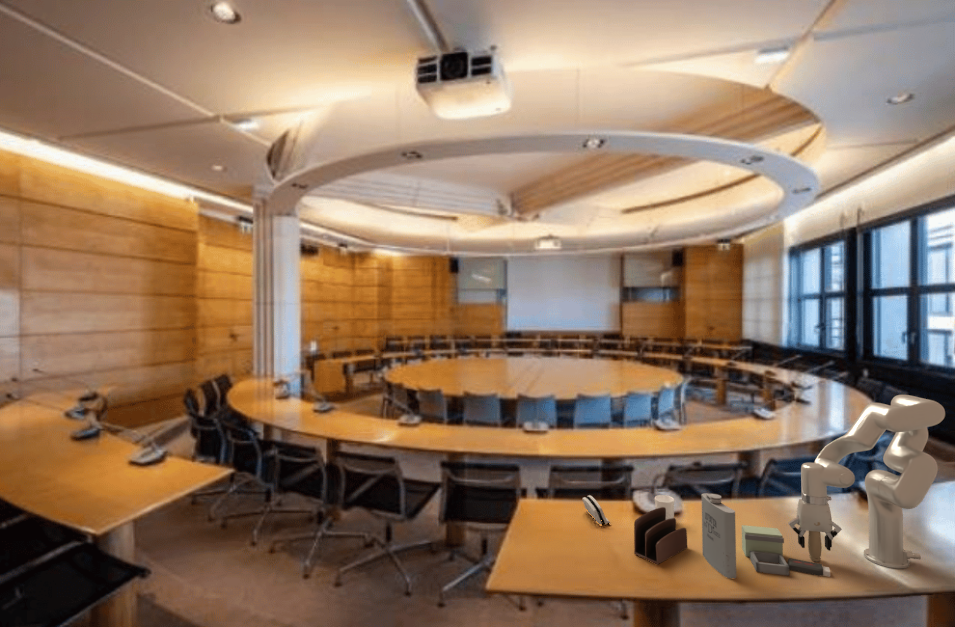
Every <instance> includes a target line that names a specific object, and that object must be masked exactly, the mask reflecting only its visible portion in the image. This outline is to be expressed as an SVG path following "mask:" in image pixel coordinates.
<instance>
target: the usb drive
mask: <svg viewBox="0 0 955 627" xmlns="http://www.w3.org/2000/svg"><path fill="white" fill-rule="evenodd" d="M787 564H788V566H789V571H793V572H798V573H803V574H808V575H812V576H818V577H829V578H830V577H831V569H830V567H829V566H823V564H822V563H818V562H814V561H807V560H804V559H803V560H801V559H796V558H792V557H791V558H790V557H789V558H787Z"/></svg>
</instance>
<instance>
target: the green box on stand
mask: <svg viewBox="0 0 955 627" xmlns="http://www.w3.org/2000/svg"><path fill="white" fill-rule="evenodd" d="M783 536H784V535H783V534H782V533H781V531H780V530H779V529H778V528H777V527H766V526H755V525H745V524H742V525H741V549H742V552H743V554H744V556H745V557H747V558H749V560H750V561H751V565H752V566H753V567H754V570H755V572H757V573H762V572H763V573H764V574H772V575H781V576H790V570H789V566H788V562H786V559H785V558H784V548H783V546H784V545H783V544H784V543H785V538H784V537H783Z"/></svg>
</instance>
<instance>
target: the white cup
mask: <svg viewBox="0 0 955 627" xmlns="http://www.w3.org/2000/svg"><path fill="white" fill-rule="evenodd" d="M661 507H665V508H666V520H667V519H671V518H675V498H673V497H672V496H670V495H666V494H663V495H662V494H658V495H655V497H654V508H655V509H657V508H661Z"/></svg>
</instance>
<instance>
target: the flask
mask: <svg viewBox="0 0 955 627" xmlns="http://www.w3.org/2000/svg"><path fill="white" fill-rule="evenodd" d="M700 496H701V529H702V530H701V534H702V535H701V536H702V537H701V538H702V540H701V541H702V542H701V543H702V557H704V559H705V560H706V561H707V563H708V564H709V565H710V566H711V568H713V569H714V570H715V571H717V572H718V573H719V574H721V575H722V576H723V577H725V578H726V577H727V578H726V579H730V578H731V580H733V579H732V578H734V579H736V578H737V541H736V536H737V534H736V510H734V509H733V508H731V507H729V506H727V505H725V504H724V503H722V495H720V494H717V493H709V492H708V493H707V492H705V493H702V494H701V495H700Z"/></svg>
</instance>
